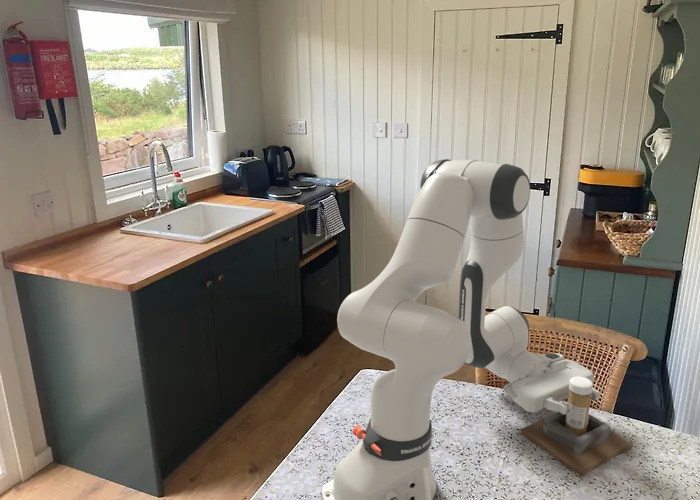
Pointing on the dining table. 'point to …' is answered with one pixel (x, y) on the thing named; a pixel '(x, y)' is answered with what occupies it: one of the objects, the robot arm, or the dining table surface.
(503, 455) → the dining table surface
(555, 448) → the socket base
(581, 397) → the sprinkles bottle
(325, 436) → the dining table surface
